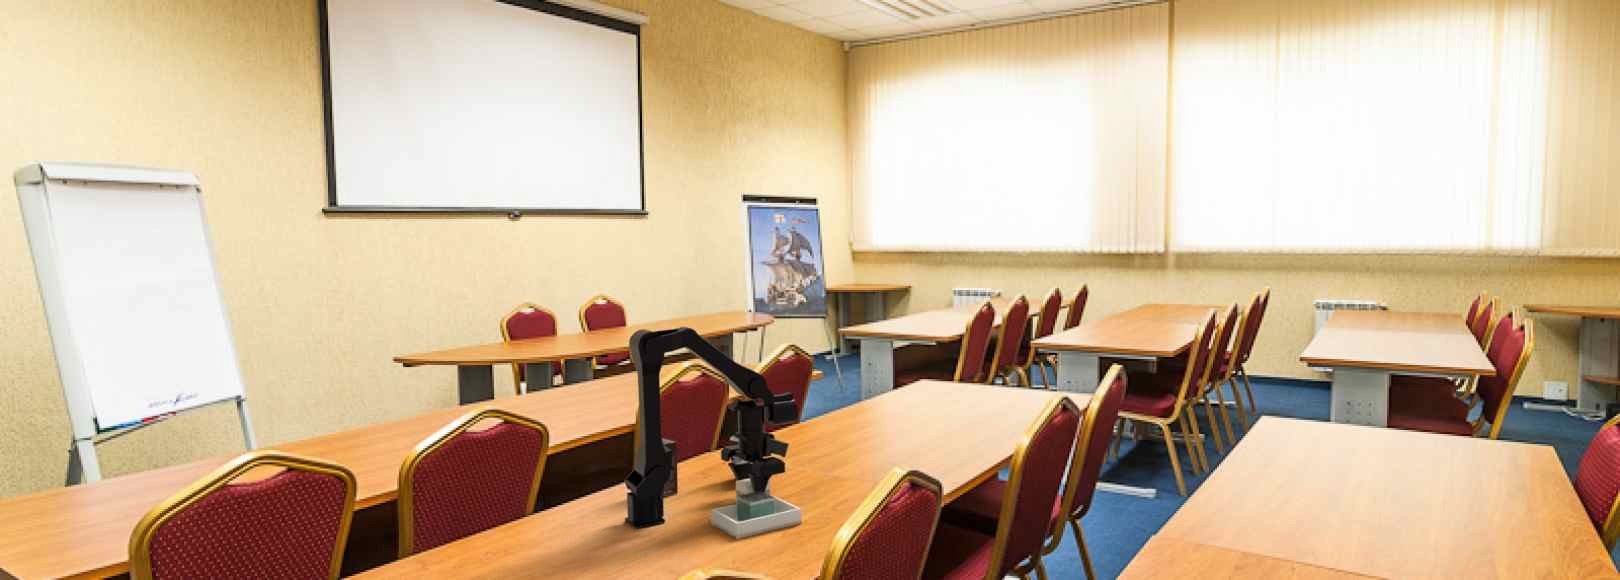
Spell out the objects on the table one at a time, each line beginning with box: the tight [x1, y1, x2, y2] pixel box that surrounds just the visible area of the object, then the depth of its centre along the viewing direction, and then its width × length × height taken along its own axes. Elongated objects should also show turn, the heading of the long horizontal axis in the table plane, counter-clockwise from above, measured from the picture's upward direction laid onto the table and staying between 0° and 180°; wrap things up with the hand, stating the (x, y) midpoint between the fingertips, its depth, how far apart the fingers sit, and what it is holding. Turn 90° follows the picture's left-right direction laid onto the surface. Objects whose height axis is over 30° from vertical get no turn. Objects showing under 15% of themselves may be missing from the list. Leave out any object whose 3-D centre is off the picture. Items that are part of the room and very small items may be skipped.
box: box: [661, 437, 679, 497], centre depth 204 cm, size 6×4×12 cm
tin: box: [735, 491, 775, 521], centre depth 180 cm, size 6×6×5 cm
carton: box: [735, 478, 771, 504], centre depth 195 cm, size 6×4×5 cm
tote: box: [710, 495, 803, 540], centre depth 181 cm, size 15×11×3 cm
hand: (753, 498), depth 195 cm, fingers open, 5 cm apart
